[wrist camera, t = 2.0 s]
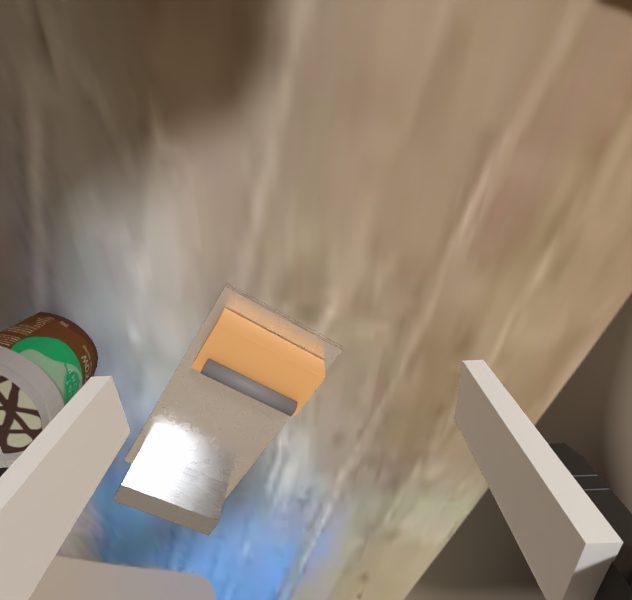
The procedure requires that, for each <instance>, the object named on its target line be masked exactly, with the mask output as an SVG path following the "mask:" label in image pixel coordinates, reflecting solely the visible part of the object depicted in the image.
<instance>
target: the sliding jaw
mask: <svg viewBox="0 0 632 600" xmlns="http://www.w3.org/2000/svg"><path fill="white" fill-rule="evenodd" d="M191 367H192V368H194V369H196V370H198V371H200V373H201V374H203V375H205V376H207V377H209V378H211V379H213V380H215V381H217V382H220V383H222V384H224V385H226V386H228V387H230V388H232V389H234V390H236V391H238V392H240V393H243V394H245V395H247V396H249V397H251V398H253V399H255V400H257V401H259V402H261V403H264V404H266V405H268V406H270V407H272V408H274V409H276V410H278V411H280V412H282V413H284V414H287V415H289V416H294V417H295V416H296V414H297V413H298V412H299V411H300V409H301V408H302V407H303V405H304V404H305V403H306V402H307V400H308V399H309V398H310V397H311V395H312V394H313V393H314V392H315V390H316V389H317V388H318V387H319V385H320V384H321V383H322V381H323V380H324V379H325V363H324V360H322V359H320V358H318V357H316V356H314V355H312V354H311V353H309V352H307V351H305V350H303V349H301V348H299V347H297V346H296V345H294V344H292V343H290V342H288V341H286V340H284V339H282V338H281V337H279V336H277V335H275V334H273V333H271V332H269V331H267V330H266V329H264V328H262V327H260V326H258V325H256V324H254V323H252V322H251V321H249V320H247V319H245V318H243V317H241V316H239V315H237V314H236V313H234V312H232V311H230V310H228V309H226V308H224V310H223V312H222V313H221V315H220V317H219V318H218V320H217V322H216V323H215V325H214V327H213V328H212V330H211V332H210V333H209V335H208V337H207V338H206V340H205V342H204V343H203V345H202V347H201V349H200V350H199V352H198V354H197V356H196V358H195V360H194V362H193V364H192V366H191Z"/></svg>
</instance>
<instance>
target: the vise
mask: <svg viewBox="0 0 632 600" xmlns="http://www.w3.org/2000/svg"><path fill="white" fill-rule="evenodd" d="M224 308H226V309H228V310H230V311H232V312H234V313H236V314H237V315H239V316H241V317H243V318H245V319H247V320H249V321H251V322H252V323H254V324H256V325H258V326H260V327H262V328H264V329H266V330H267V331H269V332H271V333H273V334H275V335H277V336H279V337H281V338H282V339H284V340H286V341H288V342H290V343H292V344H294V345H296V346H297V347H299V348H301V349H303V350H305V351H307V352H309V353H311V354H312V355H314V356H316V357H318V358H320V359H322V360H324V363H325V372H326V371H327V370H328V368H329V367H330V366H331V364H332V363H333V362H334V361H335V359H336V358H337V357H338V356H339V354H340V353H341V352H342V346H341V345H339V344H337V343H335V342H334V341H332V340H330V339H328V338H326V337H325V336H323V335H321V334H319V333H317V332H316V331H314V330H312V329H310V328H308V327H307V326H305V325H303V324H301V323H299V322H297V321H296V320H294V319H292V318H290V317H288V316H287V315H285V314H283V313H281V312H279V311H278V310H276V309H274V308H272V307H270V306H268V305H267V304H265V303H263V302H261V301H259V300H258V299H256V298H254V297H252V296H250V295H249V294H247V293H245V292H243V291H241V290H239V289H238V288H236V287H234V286H232V285H230V284H229V283H227V284H226V286H225V288H224V289H223V291H222V293H221V295H220V296H219V298H218V300H217V302H216V303H215V305H214V307H213V308H212V310H211V312H210V314H209V315H208V317H207V319H206V320H205V322H204V324H203V326H202V327H201V329H200V331H199V333H198V334H197V336H196V338H195V339H194V341H193V343H192V345H191V346H190V348H189V350H188V351H187V353H186V355H185V357H184V358H183V360H182V362H181V364H180V365H179V367H178V369H177V370H176V372H175V374H174V376H173V377H172V379H171V381H170V382H169V384H168V386H167V388H166V389H165V391H164V393H163V395H162V396H161V398H160V400H159V401H158V403H157V405H156V407H155V408H154V410H153V412H152V414H151V415H150V417H149V419H148V420H147V422H146V424H145V426H144V427H143V429H142V431H141V432H140V434H139V436H138V438H137V439H136V441H135V443H134V445H133V446H132V448H131V450H130V451H129V453H128V455H127V457H126V458H125V460H124V461H126V462H129V463H131V466H130V468H129V470H128V472H127V474H126V475H125V477H124V479H123V481H122V483H121V485H120V487H119V488H118V490H117V492H116V494H115V496H114V498H113V499H112V500H113V501H116V502H118V503H121V504H124V505H127V506H129V507H132V508H135V509H138V510H140V511H143V512H146V513H149V514H151V515H154V516H157V517H160V518H162V519H165V520H168V521H171V522H173V523H176V524H179V525H182V526H184V527H187V528H190V529H193V530H195V531H198V532H201V533H204V534H206V535H209V534H210V533H211V531H212V530H213V529H214V528H215V527H216V525H217V524H218V523H219V521H220V517H221V513H222V509H223V504H224V500H225V499H226V498H227V497H228V495H229V494H230V493H231V492H232V490H233V489H234V488H235V487H236V485H237V484H238V483H239V481H240V480H241V479H242V478H243V476H244V475H245V474H246V473H247V471H248V470H249V469H250V467H251V466H252V465H253V464H254V462H255V461H256V460H257V459H258V457H259V456H260V455H261V453H262V452H263V451H264V450H265V448H266V447H267V446H268V445H269V443H270V442H271V441H272V439H273V438H274V437H275V436H276V434H277V433H278V432H279V431H280V429H281V428H282V427H283V425H284V424H285V423H286V422H287V420H288V419H289V418H290V417H291V416H289V415H287V414H284V413H282V412H280V411H278V410H276V409H274V408H272V407H270V406H268V405H266V404H264V403H261V402H259V401H257V400H255V399H253V398H251V397H249V396H247V395H245V394H243V393H240V392H238V391H236V390H234V389H232V388H230V387H228V386H226V385H224V384H222V383H220V382H217V381H215V380H213V379H211V378H209V377H207V376H205V375H203V374H201V373H200V371H198V370H196V369H194V368H192V367H191V366H192V364H193V362H194V360H195V358H196V356H197V354H198V352H199V350H200V349H201V347H202V345H203V343H204V342H205V340H206V338H207V337H208V335H209V333H210V332H211V330H212V328H213V327H214V325H215V323H216V322H217V320H218V318H219V317H220V315H221V313H222V312H223V310H224Z"/></svg>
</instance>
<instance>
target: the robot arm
mask: <svg viewBox="0 0 632 600" xmlns="http://www.w3.org/2000/svg"><path fill="white" fill-rule="evenodd" d="M454 419H455V421H456V423H457V425H458V427H459V429H460V431H461V433H462V435H463V437H464V439H465V440H466V442H467V444H468V446H469V448H470V450H471V452H472V454H473V456H474V458H475V460H476V462H477V464H478V466H479V468H480V470H481V472H482V474H483V476H484V478H485V480H486V482H487V484H488V486H489V488H490V490H491V492H492V494H493V496H494V498H495V499H496V502H497V503H498V506H499V507H500V509H501V511H502V513H503V515H504V517H505V519H506V521H507V523H508V525H509V527H510V529H511V531H512V533H513V535H514V537H515V539H516V541H517V543H518V545H519V547H520V549H521V551H522V553H523V555H524V557H525V559H526V561H527V563H528V565H529V567H530V569H531V570H532V573H533V575H534V576H535V578H536V580H537V582H538V584H539V586H540V588H541V590H542V592H543V594H544V596H545V598H546V600H632V514H631V513H630V512H629V511H628V509H627V508H626V507H625V506H624V504H623V503H622V502H621V501H620V500H619V499H618V497H617V496H616V495H615V494H614V493H613V491H610V490H609V487H608V486H607V484H606V483H605V482H604V481H603V480H602V478H601V477H598V475H597V473H596V472H595V470H594V469H593V468H592V467H591V466H590V464H589V463H588V462H587V461H586V460H585V458H583V457H582V456H581V455H580V454H578V453H577V452H576V451H574V450H573V449H572V448H570V447H569V446H567V445H566V444H565V443H558V444H548V443H547V442H546V441H545V440H544V438H543V437H542V436H541V434H540V433H539V432H538V430H537V429H536V428H535V427H534V425H533V424H532V423H531V421H530V420H529V419H528V417H527V416H526V415H525V414H524V412H523V411H522V410H521V408H520V407H519V406H518V404H517V403H516V402H515V401H514V399H513V398H512V397H511V395H510V394H509V393H508V391H507V390H506V389H505V388H504V386H503V385H502V384H501V382H500V381H499V380H498V378H497V377H496V376H495V375H494V373H493V372H492V371H491V369H490V368H489V367H488V365H487V364H486V363H485V361H484V360H468V361H463V362H462V368H461V375H460V382H459V389H458V395H457V402H456V409H455V415H454ZM130 432H131V431H130V428H129V425H128V422H127V419H126V416H125V413H124V410H123V407H122V404H121V402H120V399H119V396H118V393H117V390H116V387H115V384H114V381H113V378H112V376H97V377H91V378H90V379H89V380H88V381H87V382H86V383H85V384H84V386H83V387H82V388H81V389H80V390H79V391H78V392H77V393H76V394H75V396H74V397H73V398H72V399H71V400H70V401H69V402H68V403H67V404H66V405H65V407H64V408H63V409H62V410H61V411H60V412H59V413H58V414H57V415H56V416H55V418H54V419H53V420H52V421H51V422H50V423H49V424H48V425H47V426H46V427H45V429H44V430H43V431H42V432H41V433H40V434H39V435H38V436H37V437H36V438H35V440H34V441H33V442H32V443H31V444H30V445H29V446H28V447H27V448H26V449H25V451H24V452H23V453H22V454H21V455H20V456H19V457H18V458H17V459H16V460H15V462H14V463H13V464H12V465H11V466H10V467H9V468H0V600H28V599H29V598H30V596H31V595H32V593H33V591H34V590H35V588H36V587H37V585H38V583H39V581H40V580H41V578H42V576H43V575H44V573H45V572H46V570H47V568H48V567H49V565H50V563H51V562H52V560H53V559H54V557H55V555H56V554H57V552H58V550H59V549H60V547H61V545H62V544H63V542H64V540H65V539H66V537H67V536H68V534H69V532H70V531H71V529H72V527H73V526H74V524H75V522H76V521H77V519H78V517H79V516H80V514H81V512H82V511H83V509H84V508H85V506H86V504H87V503H88V501H89V499H90V498H91V496H92V494H93V493H94V491H95V489H96V488H97V486H98V485H99V483H100V481H101V480H102V478H103V476H104V475H105V473H106V471H107V470H108V468H109V466H110V465H111V463H112V462H113V460H114V458H115V457H116V455H117V453H118V452H119V450H120V448H121V447H122V445H123V443H124V442H125V440H126V438H127V437H128V435H129V434H130Z"/></svg>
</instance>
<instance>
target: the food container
mask: <svg viewBox="0 0 632 600" xmlns="http://www.w3.org/2000/svg"><path fill="white" fill-rule="evenodd" d="M97 360H98V355H97V350H96V347H95V345H94V343H93V341H92V340H91V338H90V337H89V336H88V335H87V333H86V332H85V331H84V330H83V329H81V328H80V327H79V326H78V325H76V324H75V323H73V322H71V321H70V320H67V319H65V318H63V317H60V316H58V315H54V314H50V313H42V312H39V313H37V314H36V315H34V316H32V317H30V318H28V319H26V320H24V321H22V322H20V323H18V324H16V325H14V326H12V327H10V328H8V329H6V330H4V331H2V332H0V446H1V449H2V453H1V455H0V462H8V461H14V460H16V459H17V458H18V457H19V456H20V455H21V454H22V453H23V452H24V451H25V449H26V448H27V447H28V446H29V445H30V444H31V443H32V442H33V441H34V440H35V438H36V437H37V436H38V435H39V434H40V433H41V432H42V431H43V430H44V429H45V427H46V426H47V425H48V424H49V423H50V422H51V421H52V420H53V419H54V418H55V416H56V415H57V414H58V413H59V412H60V411H61V410H62V409H63V408H64V407H65V405H66V404H67V403H68V402H69V401H70V400H71V399H72V398H73V397H74V396H75V394H76V393H77V392H78V391H79V390H80V389H81V388H82V387H83V386H84V384H85V383H86V382H87V380H88V379H89V378H90V376H91V375H92V373H93V372H94V370H95V368H96V366H97Z"/></svg>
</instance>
